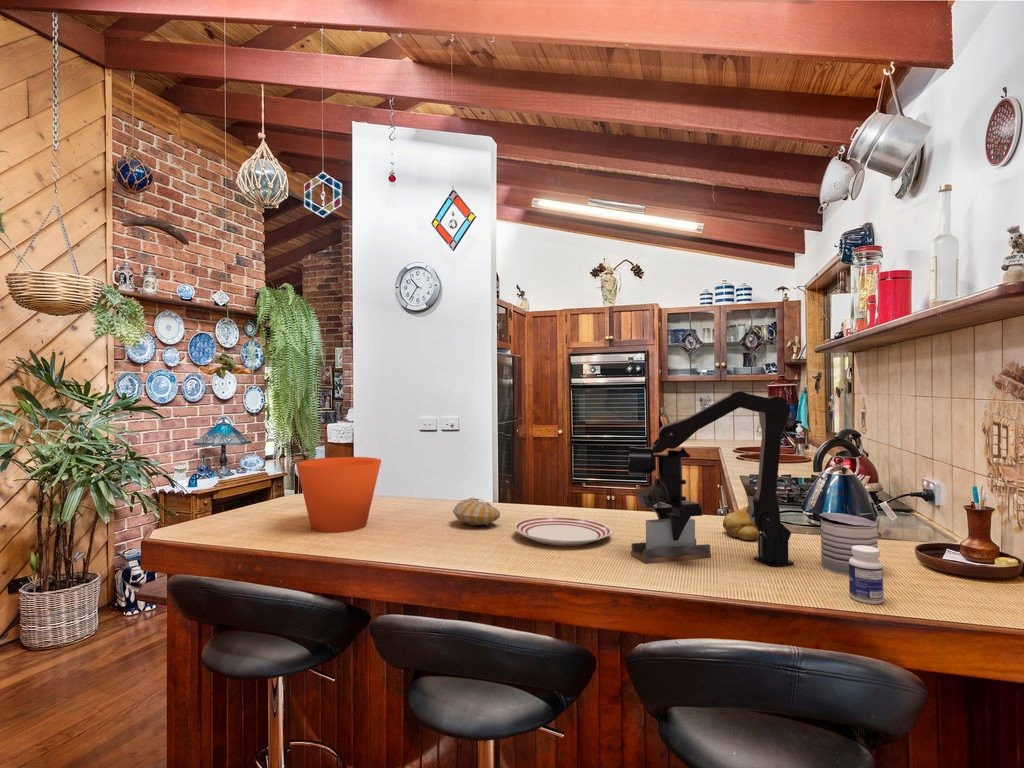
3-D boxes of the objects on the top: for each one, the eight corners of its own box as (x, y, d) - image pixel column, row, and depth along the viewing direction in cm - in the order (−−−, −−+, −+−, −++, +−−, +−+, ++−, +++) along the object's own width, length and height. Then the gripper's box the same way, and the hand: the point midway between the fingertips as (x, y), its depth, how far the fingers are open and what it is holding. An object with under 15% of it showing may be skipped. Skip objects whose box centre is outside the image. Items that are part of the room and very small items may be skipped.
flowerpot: (298, 520, 177) (298, 458, 178) (378, 515, 185) (378, 455, 185) (292, 539, 154) (292, 468, 154) (384, 532, 161) (384, 464, 161)
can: (825, 558, 135) (825, 509, 136) (881, 567, 128) (880, 515, 128) (816, 570, 126) (815, 517, 127) (875, 580, 119) (874, 524, 120)
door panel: (688, 548, 140) (687, 517, 140) (695, 552, 137) (695, 519, 138) (645, 552, 137) (645, 520, 137) (652, 555, 134) (652, 522, 134)
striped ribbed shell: (461, 516, 185) (505, 519, 184) (446, 527, 164) (496, 531, 162) (462, 492, 186) (506, 495, 184) (447, 500, 165) (497, 504, 163)
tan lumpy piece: (765, 543, 149) (764, 513, 149) (726, 541, 152) (726, 512, 152) (756, 532, 162) (756, 504, 162) (721, 530, 164) (720, 503, 164)
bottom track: (693, 549, 143) (693, 538, 143) (711, 557, 136) (710, 545, 136) (631, 555, 138) (630, 543, 138) (645, 563, 131) (645, 550, 131)
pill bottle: (851, 591, 112) (851, 542, 113) (885, 598, 109) (884, 547, 109) (847, 600, 108) (846, 548, 108) (882, 607, 104) (881, 554, 105)
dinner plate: (608, 527, 168) (608, 516, 168) (616, 553, 141) (616, 539, 141) (518, 525, 171) (518, 514, 171) (509, 550, 144) (509, 537, 144)
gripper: (623, 471, 144) (623, 531, 144) (661, 482, 126) (662, 550, 126) (661, 469, 147) (661, 528, 147) (703, 480, 129) (704, 547, 129)
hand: (670, 538), depth 137 cm, fingers open, 4 cm apart
